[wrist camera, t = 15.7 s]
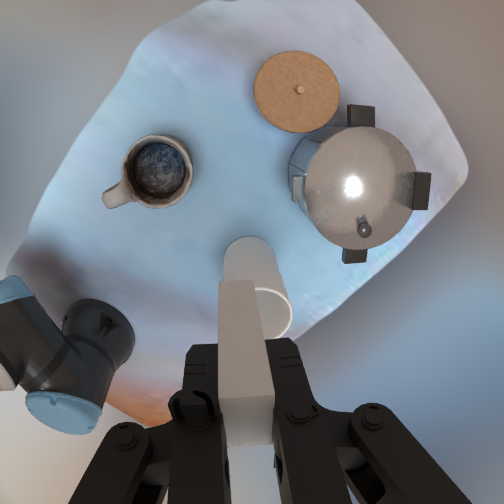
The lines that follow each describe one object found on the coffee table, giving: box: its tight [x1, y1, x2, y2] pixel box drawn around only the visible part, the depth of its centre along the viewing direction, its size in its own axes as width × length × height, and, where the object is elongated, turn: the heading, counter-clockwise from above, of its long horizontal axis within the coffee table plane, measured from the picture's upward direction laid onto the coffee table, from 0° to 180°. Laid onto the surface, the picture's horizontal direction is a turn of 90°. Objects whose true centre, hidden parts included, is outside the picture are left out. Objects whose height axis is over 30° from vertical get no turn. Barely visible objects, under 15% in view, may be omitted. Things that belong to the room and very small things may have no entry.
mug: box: [102, 135, 193, 209], centre depth 38 cm, size 10×12×10 cm
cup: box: [223, 237, 292, 340], centre depth 42 cm, size 8×8×16 cm
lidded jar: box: [253, 51, 340, 133], centre depth 36 cm, size 11×11×9 cm
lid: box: [303, 126, 431, 250], centre depth 35 cm, size 17×15×2 cm
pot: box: [288, 104, 375, 264], centre depth 40 cm, size 16×21×10 cm
